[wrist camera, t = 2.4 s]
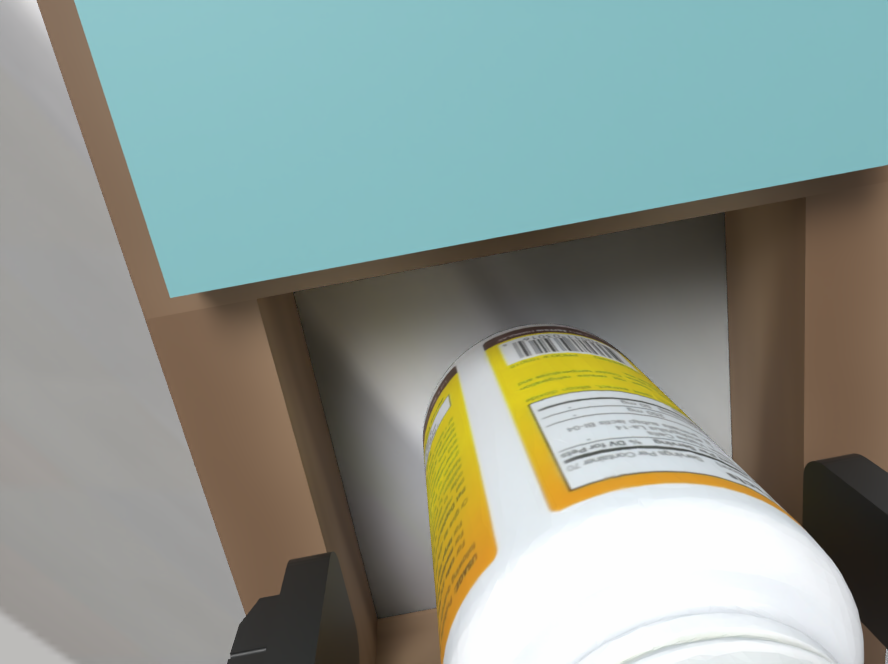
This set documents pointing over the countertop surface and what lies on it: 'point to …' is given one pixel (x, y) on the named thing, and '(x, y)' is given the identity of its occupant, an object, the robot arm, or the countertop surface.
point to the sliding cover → (466, 117)
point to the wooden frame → (274, 308)
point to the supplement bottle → (608, 523)
